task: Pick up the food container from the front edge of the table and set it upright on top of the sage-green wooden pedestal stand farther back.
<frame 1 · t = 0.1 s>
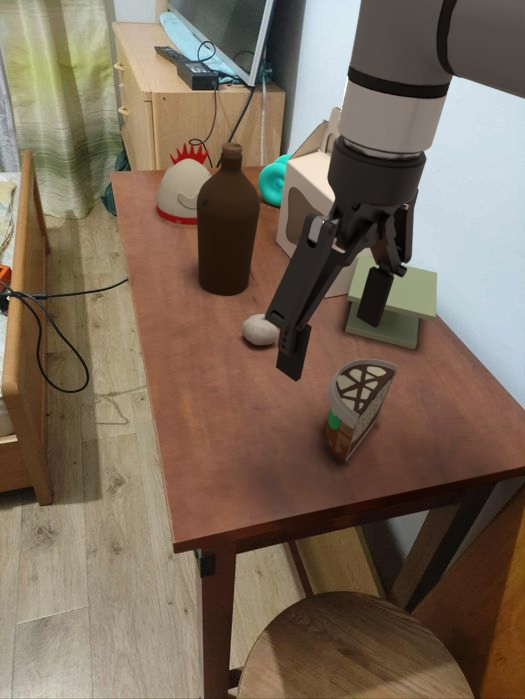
hand: (330, 345, 54), 19 cm above the table, tool pointing down, fingers open, 13 cm apart
garlic: (259, 341, 83), on the table
food container: (341, 430, 71), on the table
kitchen timer: (187, 211, 116), on the table
stand: (382, 320, 91), on the table
gable box: (326, 264, 104), on the table
olive oil: (223, 282, 95), on the table
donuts: (281, 200, 125), on the table
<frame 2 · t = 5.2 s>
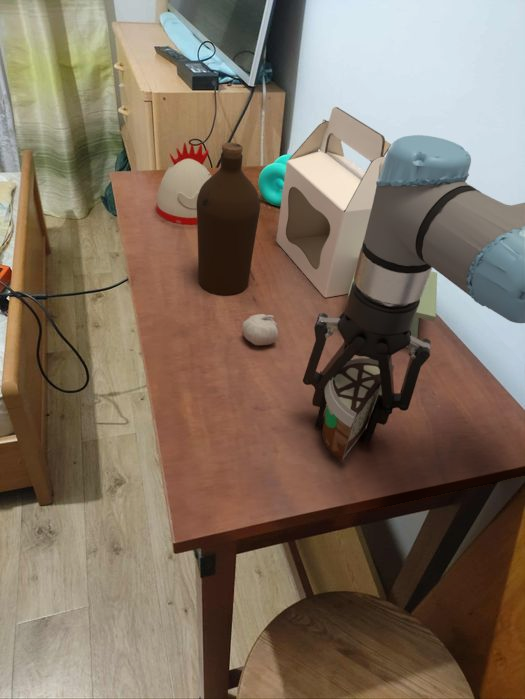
hand: (343, 427, 70), 0 cm above the table, tool pointing down, fingers closed on food container, 6 cm apart
food container: (338, 429, 71), on the table, touching gripper
everything else where it was.
when the fingers open (8 cm above the table, at t = 13.2 s): food container stays where it is, resting on stand.
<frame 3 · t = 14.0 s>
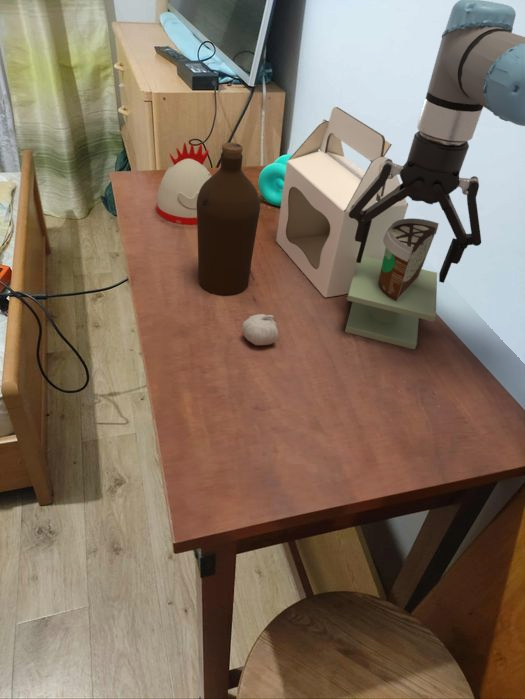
hand: (399, 268, 84), 11 cm above the table, tool pointing down, fingers open, 13 cm apart
food container: (390, 283, 86), point 8 cm above the table, touching stand
everything else where it was.
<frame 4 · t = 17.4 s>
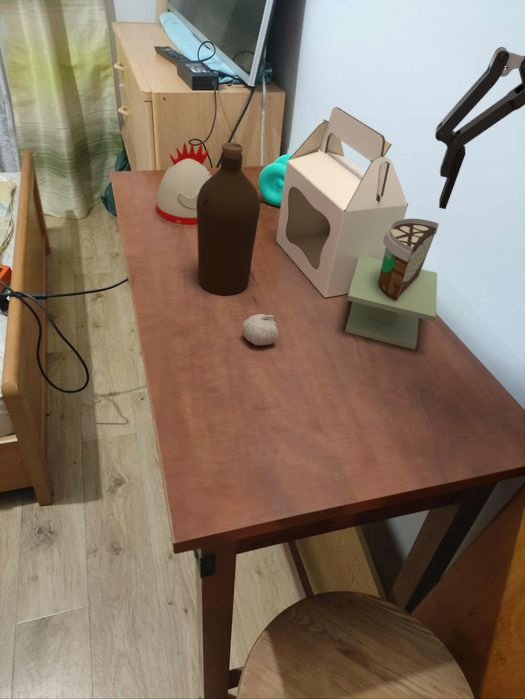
hand: (500, 216, 60), 29 cm above the table, tool pointing down, fingers open, 13 cm apart
nothing on the table moved.
at the end: food container inside the target area on the stand (0.7 cm from its centre), point 7.8 cm above the stand's base; food container tilted 0°; the gripper is holding nothing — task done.
